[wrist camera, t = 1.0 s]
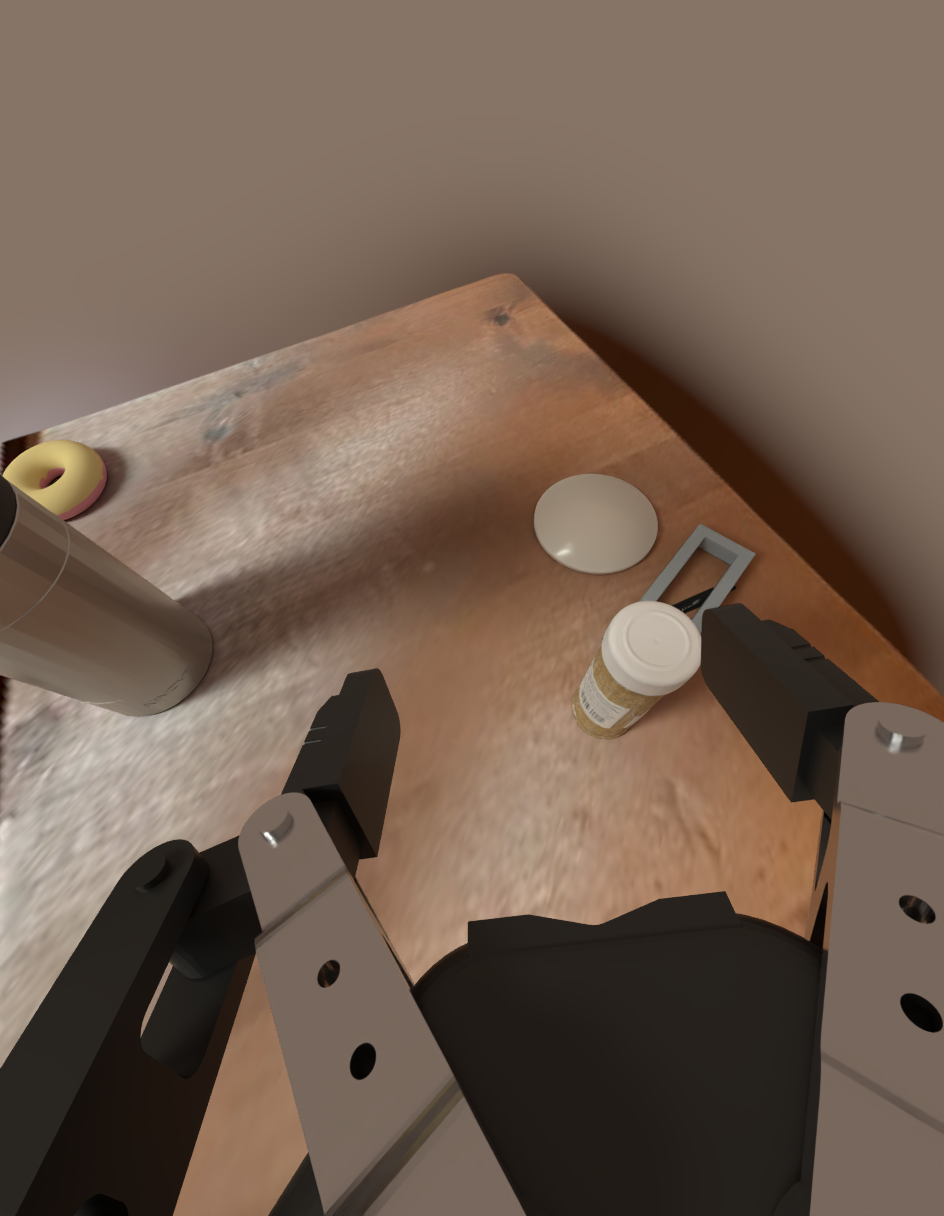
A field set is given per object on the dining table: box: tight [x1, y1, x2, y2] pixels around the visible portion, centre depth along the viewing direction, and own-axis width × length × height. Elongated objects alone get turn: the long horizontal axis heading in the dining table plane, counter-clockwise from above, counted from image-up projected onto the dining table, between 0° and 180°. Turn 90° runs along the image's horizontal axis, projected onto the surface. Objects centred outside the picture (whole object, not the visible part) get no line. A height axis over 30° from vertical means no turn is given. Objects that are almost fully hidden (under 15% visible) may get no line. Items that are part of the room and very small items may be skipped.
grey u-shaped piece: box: [639, 524, 755, 633], centre depth 36 cm, size 5×15×2 cm, turn 139°
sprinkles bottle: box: [572, 601, 701, 739], centre depth 28 cm, size 5×5×13 cm
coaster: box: [534, 474, 658, 575], centre depth 41 cm, size 11×11×1 cm
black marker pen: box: [602, 585, 736, 640], centre depth 37 cm, size 12×1×1 cm, turn 114°
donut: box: [3, 440, 107, 520], centre depth 46 cm, size 10×5×9 cm
